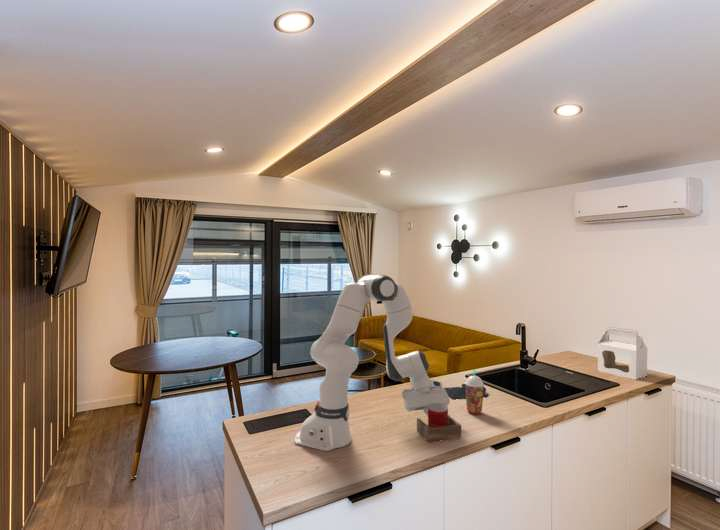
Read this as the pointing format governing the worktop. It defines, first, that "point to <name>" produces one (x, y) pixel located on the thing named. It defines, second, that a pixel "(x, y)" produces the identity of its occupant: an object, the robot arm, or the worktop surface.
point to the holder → (439, 430)
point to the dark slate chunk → (460, 392)
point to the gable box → (636, 353)
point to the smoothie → (474, 394)
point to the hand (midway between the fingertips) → (432, 418)
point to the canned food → (437, 415)
